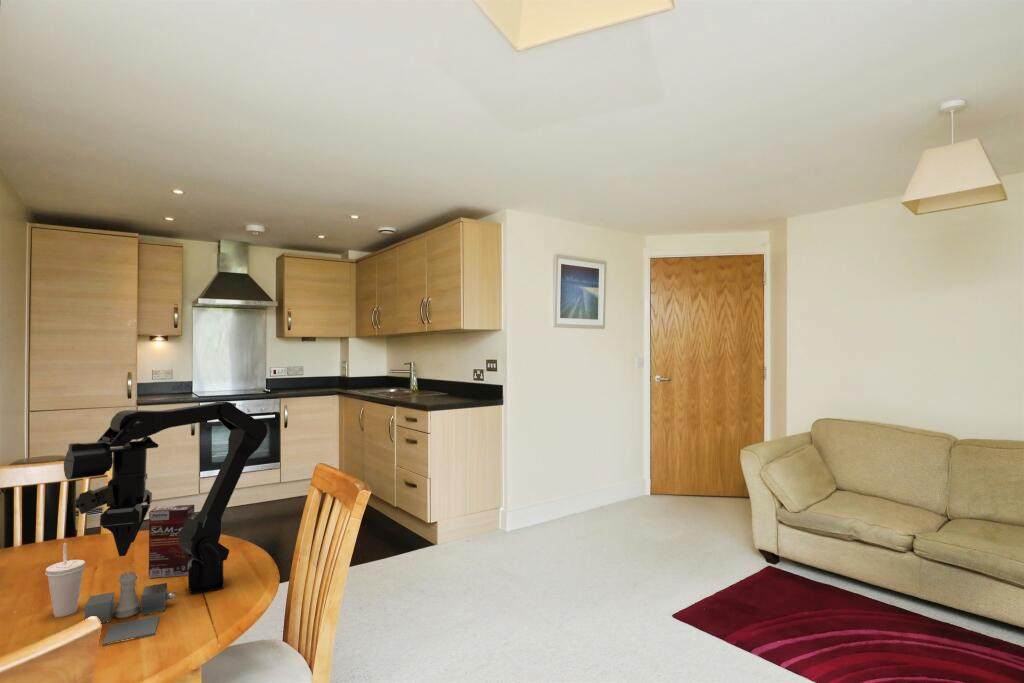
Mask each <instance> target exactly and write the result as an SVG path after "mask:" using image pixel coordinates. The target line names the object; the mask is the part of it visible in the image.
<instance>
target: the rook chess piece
mask: <svg viewBox="0 0 1024 683" xmlns="http://www.w3.org/2000/svg"><path fill="white" fill-rule="evenodd" d="M127 573H128V574H127ZM137 579H138V576H137V575H136V572H135V571H133V572H132V571H129V572H124V573H123V574H120V578H118V580H117V582H118V583H119V584H120V586H119V590H120V595H119V600H118V602H117V605H116V606H115V612H114V616H115V618H117V619H126V618H127V619H128V618H131V617H133V615H134V616H136V615H137V614H138V613H140V612H141V601H139V599H138V596H137V595H136V586H137V584H136V580H137ZM135 614H136V615H135Z"/></svg>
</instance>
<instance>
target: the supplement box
mask: <svg viewBox="0 0 1024 683" xmlns="http://www.w3.org/2000/svg"><path fill="white" fill-rule="evenodd" d="M148 516H149V517H148V523H149V524H148V578H149V579H154V578H169V577H181V576H185V577H186V576H188V570H189V567H190V566H191V563H192V559H191V558H189V557H188V555H187V553H185V552H183V551H182V550H181V549H180V547H179V544H178V541H179V538H180V536H178V534H179V533H180V531H181V530H182V528H183V526H184V523H185V520H186V518H187V517H188V518H191V519H193V518H194V517H195V504H185V505H181V504H180V505H167V506H166V505H162V506H156V507H155V508H153V509H151V510H149V512H148Z"/></svg>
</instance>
